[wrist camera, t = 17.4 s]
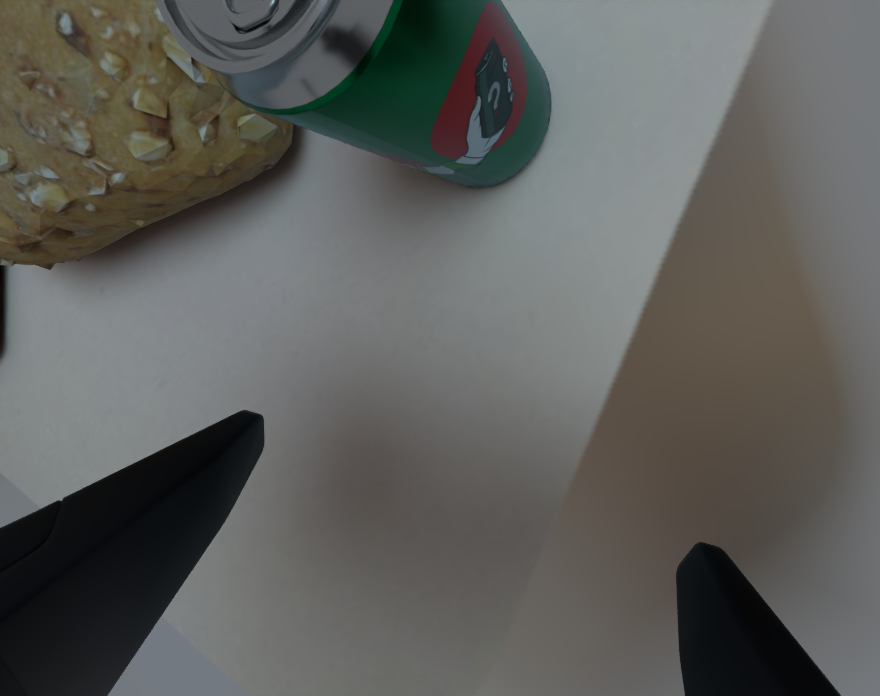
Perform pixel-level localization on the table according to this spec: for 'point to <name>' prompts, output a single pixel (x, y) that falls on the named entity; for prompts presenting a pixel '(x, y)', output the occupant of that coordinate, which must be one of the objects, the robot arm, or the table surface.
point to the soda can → (382, 76)
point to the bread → (111, 128)
